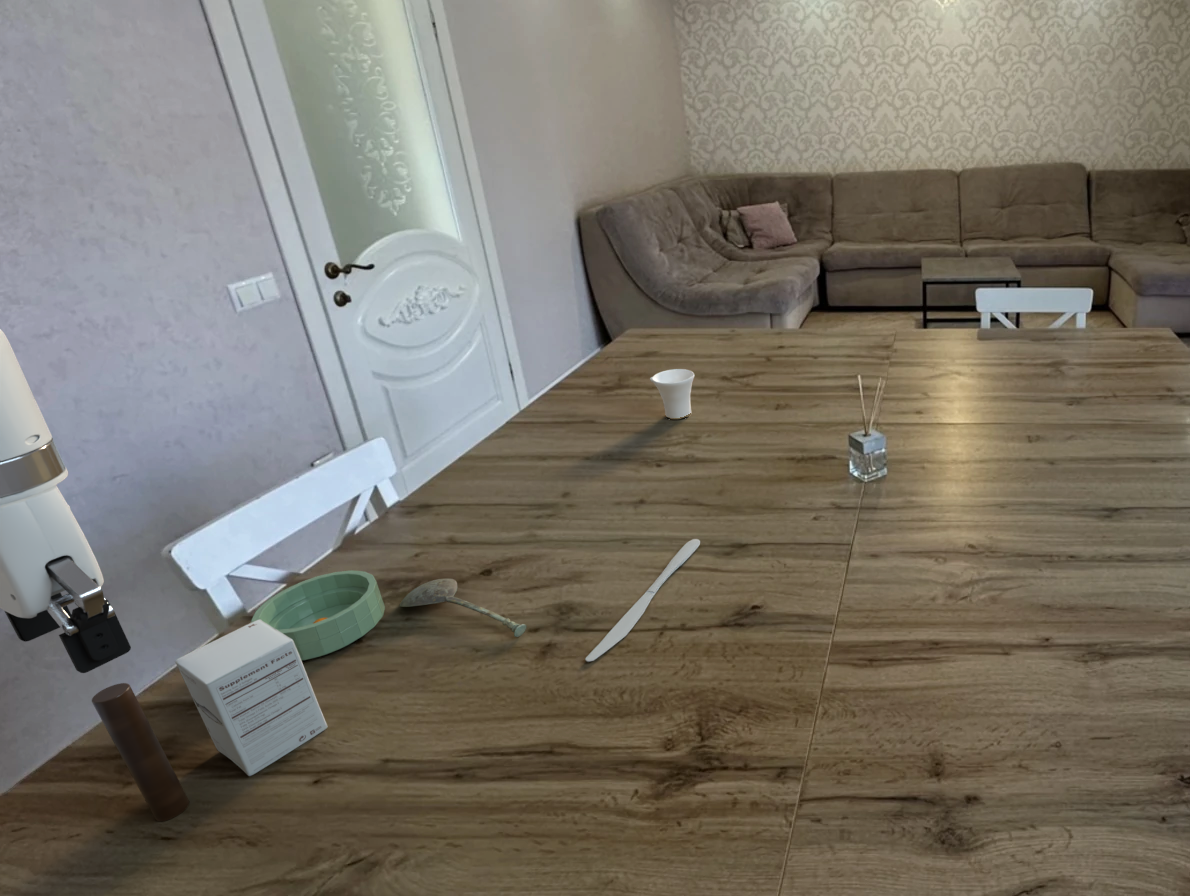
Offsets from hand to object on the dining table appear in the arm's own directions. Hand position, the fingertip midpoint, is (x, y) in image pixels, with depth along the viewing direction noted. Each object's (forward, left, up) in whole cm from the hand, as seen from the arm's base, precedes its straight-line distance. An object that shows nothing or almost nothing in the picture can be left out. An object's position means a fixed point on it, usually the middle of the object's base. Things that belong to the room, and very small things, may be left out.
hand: (76, 645), depth 63 cm
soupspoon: (+24, +20, -21) cm, 38 cm away
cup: (+62, +75, -21) cm, 100 cm away
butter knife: (+47, +12, -21) cm, 53 cm away
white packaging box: (+7, +6, -21) cm, 23 cm away
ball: (+9, +23, -19) cm, 31 cm away
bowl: (+8, +25, -21) cm, 33 cm away
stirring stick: (+1, 0, -21) cm, 21 cm away
